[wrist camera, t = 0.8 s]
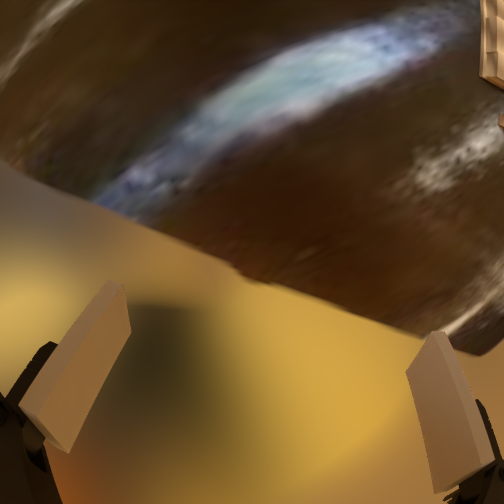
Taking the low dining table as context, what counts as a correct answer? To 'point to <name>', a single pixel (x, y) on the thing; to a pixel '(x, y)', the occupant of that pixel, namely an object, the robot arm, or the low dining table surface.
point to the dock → (492, 44)
